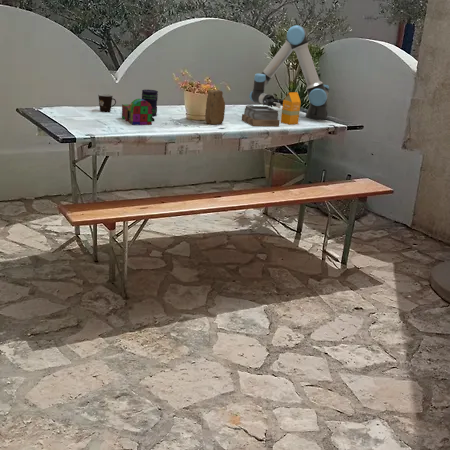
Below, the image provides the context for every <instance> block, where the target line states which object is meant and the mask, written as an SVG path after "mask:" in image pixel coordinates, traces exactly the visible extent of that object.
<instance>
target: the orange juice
mask: <svg viewBox="0 0 450 450" xmlns="http://www.w3.org/2000/svg"><path fill="white" fill-rule="evenodd" d="M282 100H283V104H282V108H281V115H280V124H285V125H298V124H299V120H300V119H299V118H300V112H301V111H300V110H301V105H302V104H301V102H302V101H301V98H300V96H299V93H298V91H294V92H293V91H292V92H291V91H290V92H288V93H287V94H286V95H285V97H284V99H282Z"/></svg>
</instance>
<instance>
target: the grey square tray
mask: <svg viewBox="0 0 450 450" xmlns="http://www.w3.org/2000/svg"><path fill="white" fill-rule="evenodd" d="M241 122H244V123H246V124H248V125H250V126H252V127H280V123H281V119H279V110H277V109H274V108H273V107H271V106H266V105H264V106H263V105H245V107H244V113H242V114H241Z"/></svg>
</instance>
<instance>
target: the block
mask: <svg viewBox="0 0 450 450" xmlns="http://www.w3.org/2000/svg"><path fill="white" fill-rule="evenodd" d="M223 94H224V93H223V91H222V90H218V89H211V90H208V92H207V97H206V101H205V104H206V105H205V111H204V112H205V116H204V121H205V122H206V123H207V124H208V125H222V124H223V121H224V119H225V113H226V102H225V99H224V97H223V96H224V95H223Z"/></svg>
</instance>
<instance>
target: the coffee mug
mask: <svg viewBox="0 0 450 450" xmlns="http://www.w3.org/2000/svg"><path fill="white" fill-rule="evenodd" d="M113 95H114V94H113ZM113 95H112V94H110V93H108V94H107V93H99V94H98V105H99V106H98V107H99V112H100V113H110V112H111V111H112V108H113V107H114V106H116V104H117V100H116V99H115V98H113ZM113 100H114V103H113V102H112V101H113ZM112 103H113V105H112Z"/></svg>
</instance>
